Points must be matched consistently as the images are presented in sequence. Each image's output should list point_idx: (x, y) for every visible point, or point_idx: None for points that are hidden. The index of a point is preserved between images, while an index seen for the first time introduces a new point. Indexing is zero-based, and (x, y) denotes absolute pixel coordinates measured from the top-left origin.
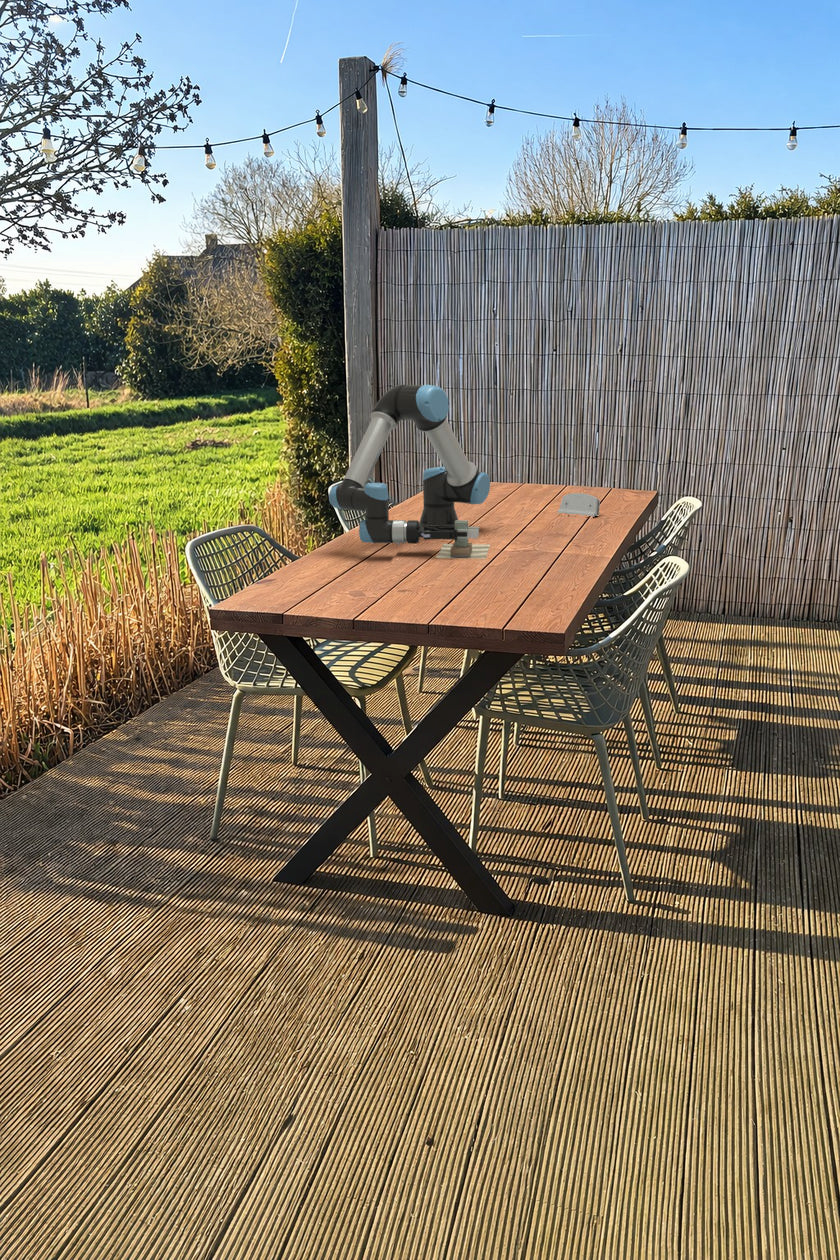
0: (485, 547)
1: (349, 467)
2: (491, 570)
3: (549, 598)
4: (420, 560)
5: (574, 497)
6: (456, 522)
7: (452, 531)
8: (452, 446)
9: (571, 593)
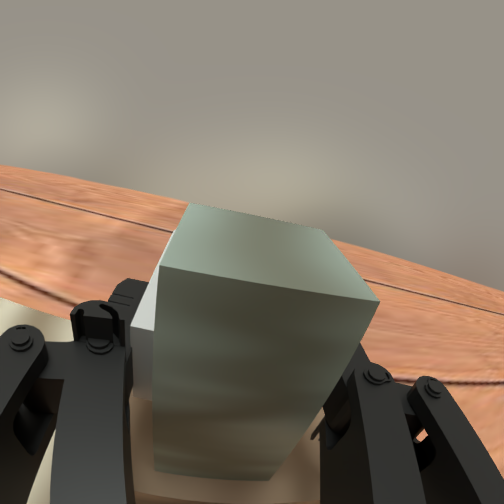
0: (37, 323)
1: None
2: (380, 357)
3: (469, 293)
4: None
5: None
6: (362, 284)
7: (440, 386)
8: None
9: (434, 275)
